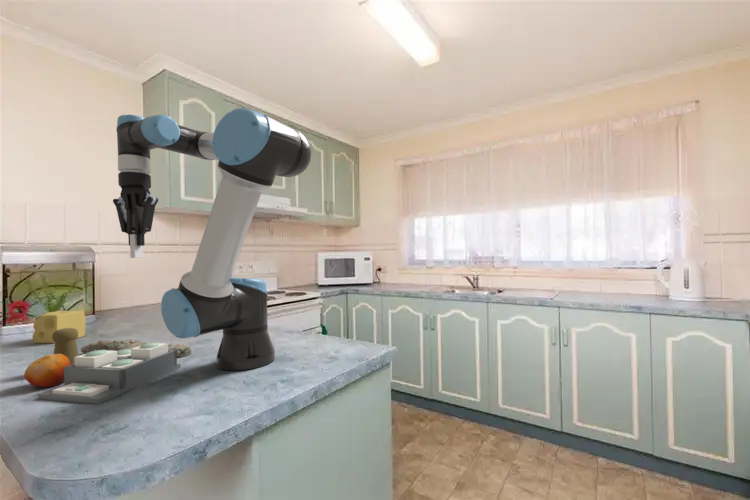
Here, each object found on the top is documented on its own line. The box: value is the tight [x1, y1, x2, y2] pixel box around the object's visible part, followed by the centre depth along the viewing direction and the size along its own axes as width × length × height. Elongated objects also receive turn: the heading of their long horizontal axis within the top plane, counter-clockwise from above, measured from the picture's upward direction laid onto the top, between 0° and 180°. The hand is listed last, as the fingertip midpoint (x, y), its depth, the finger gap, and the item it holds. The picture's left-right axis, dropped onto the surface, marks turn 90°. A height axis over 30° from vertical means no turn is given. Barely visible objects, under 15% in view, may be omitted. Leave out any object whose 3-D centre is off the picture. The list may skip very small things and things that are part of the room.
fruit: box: [23, 353, 71, 388], centre depth 83 cm, size 8×8×8 cm
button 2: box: [101, 359, 143, 369], centre depth 81 cm, size 6×6×3 cm
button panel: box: [37, 348, 182, 405], centre depth 83 cm, size 16×22×5 cm
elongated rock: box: [80, 339, 192, 358], centre depth 106 cm, size 35×5×10 cm
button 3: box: [117, 349, 131, 358], centre depth 90 cm, size 6×6×3 cm
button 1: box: [74, 350, 117, 368], centre depth 82 cm, size 6×6×3 cm
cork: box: [52, 328, 80, 365], centre depth 93 cm, size 6×6×11 cm
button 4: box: [131, 342, 169, 359], centre depth 88 cm, size 6×6×3 cm
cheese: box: [32, 310, 86, 344], centre depth 127 cm, size 10×11×10 cm
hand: (137, 257), depth 97 cm, fingers closed
